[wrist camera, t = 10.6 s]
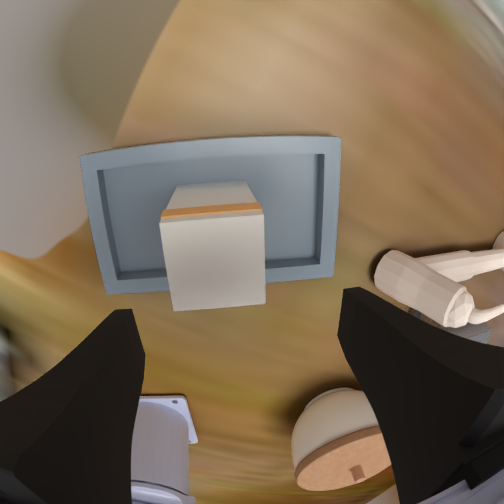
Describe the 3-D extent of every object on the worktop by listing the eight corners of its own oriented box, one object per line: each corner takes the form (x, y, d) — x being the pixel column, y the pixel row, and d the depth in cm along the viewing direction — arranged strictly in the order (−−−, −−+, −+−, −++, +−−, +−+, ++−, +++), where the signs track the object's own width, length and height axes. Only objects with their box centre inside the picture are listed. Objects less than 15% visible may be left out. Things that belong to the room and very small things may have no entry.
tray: (112, 283, 20) (106, 294, 19) (88, 153, 17) (79, 156, 15) (325, 266, 22) (333, 276, 21) (331, 135, 18) (340, 137, 17)
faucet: (471, 246, 29) (541, 280, 21) (371, 299, 23) (473, 368, 14) (477, 213, 28) (552, 243, 19) (377, 250, 21) (496, 314, 13)
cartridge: (183, 248, 20) (172, 312, 13) (176, 184, 18) (157, 222, 12) (248, 243, 20) (266, 304, 14) (245, 179, 18) (265, 213, 12)
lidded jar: (387, 359, 27) (432, 431, 19) (369, 420, 32) (398, 482, 23) (278, 384, 26) (302, 473, 18) (281, 442, 31) (298, 512, 22)
